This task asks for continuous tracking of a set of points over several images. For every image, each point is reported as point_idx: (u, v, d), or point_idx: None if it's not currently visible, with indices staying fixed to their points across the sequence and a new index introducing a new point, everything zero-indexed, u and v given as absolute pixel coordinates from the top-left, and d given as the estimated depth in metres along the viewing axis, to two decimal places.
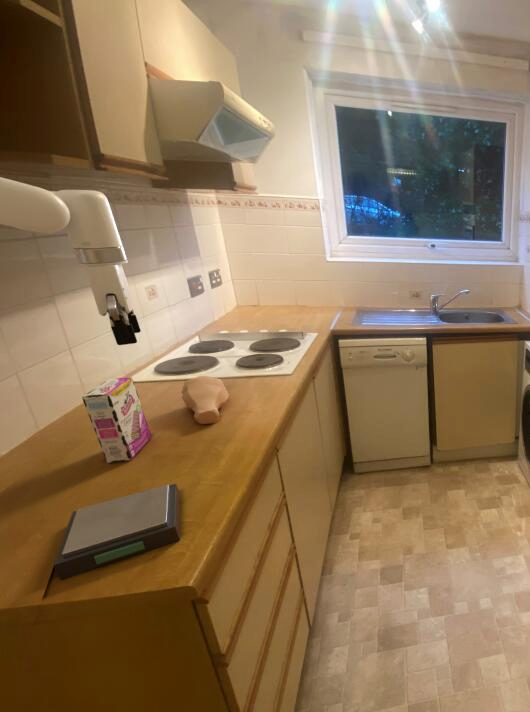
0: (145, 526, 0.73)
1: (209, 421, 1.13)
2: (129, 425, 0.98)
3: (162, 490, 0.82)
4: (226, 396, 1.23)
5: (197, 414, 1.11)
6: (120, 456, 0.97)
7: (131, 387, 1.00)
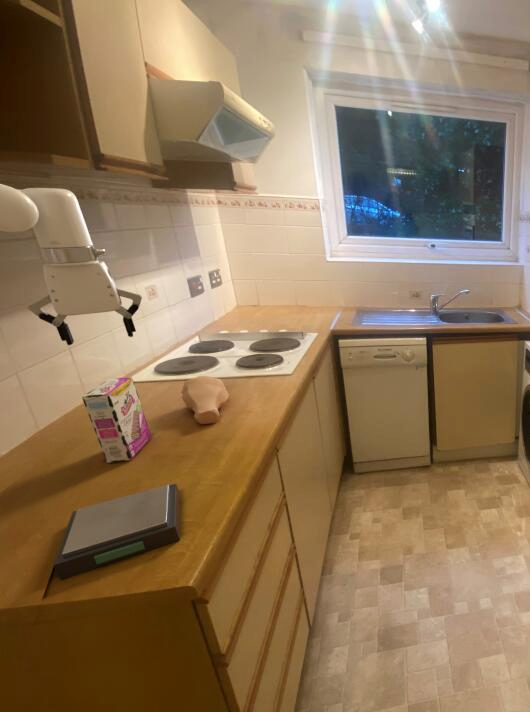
0: (145, 526, 0.73)
1: (209, 421, 1.13)
2: (129, 425, 0.98)
3: (162, 490, 0.82)
4: (226, 396, 1.23)
5: (197, 414, 1.11)
6: (120, 456, 0.97)
7: (131, 387, 1.00)
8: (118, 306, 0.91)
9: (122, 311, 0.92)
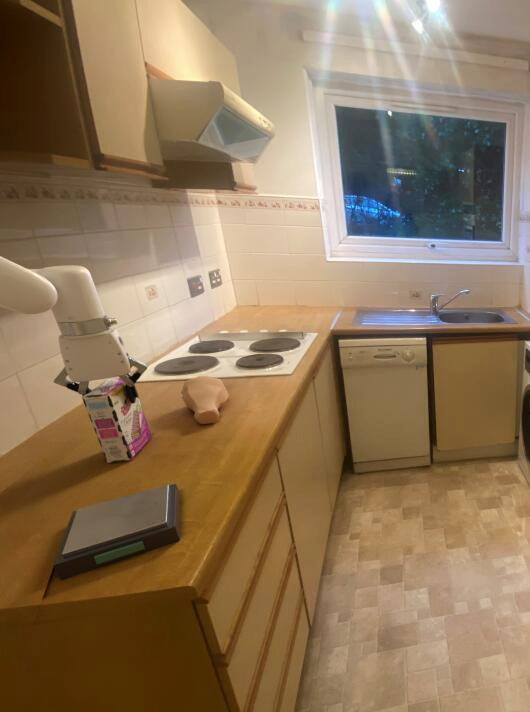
0: (145, 526, 0.73)
1: (209, 421, 1.13)
2: (129, 425, 0.98)
3: (162, 490, 0.82)
4: (226, 397, 1.23)
5: (197, 414, 1.11)
6: (120, 456, 0.97)
7: None
8: (128, 371, 0.95)
9: (126, 379, 0.96)
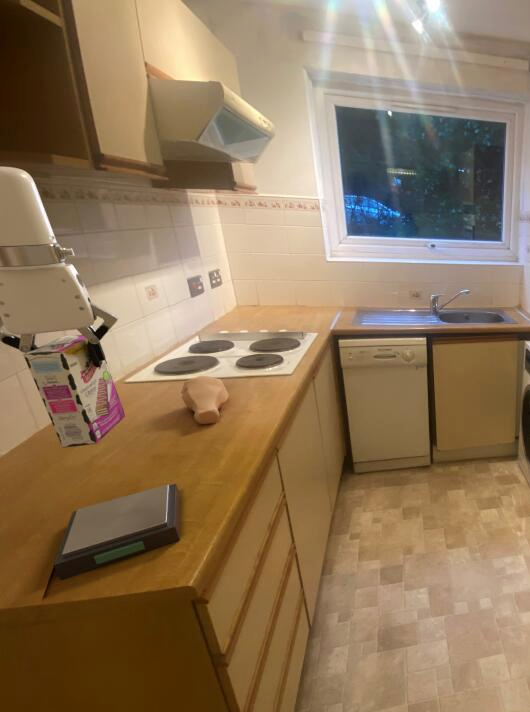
0: (145, 526, 0.73)
1: (209, 421, 1.13)
2: (93, 397, 0.73)
3: (162, 490, 0.82)
4: (226, 397, 1.23)
5: (197, 414, 1.11)
6: (80, 438, 0.71)
7: None
8: (90, 322, 0.70)
9: (88, 334, 0.71)
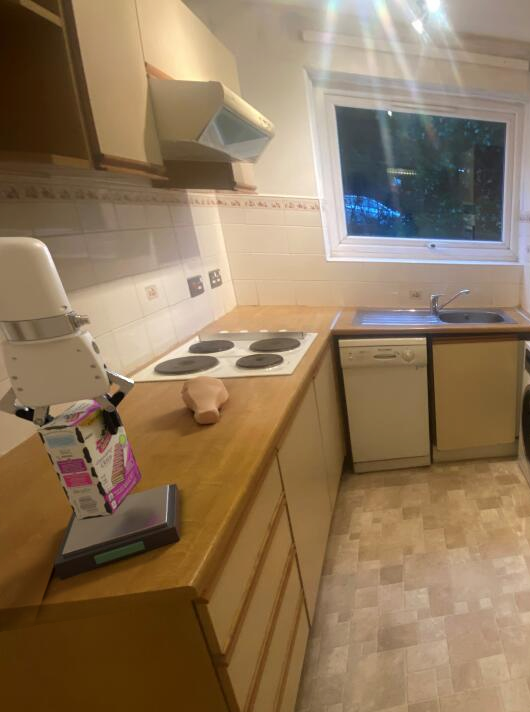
0: (145, 526, 0.73)
1: (209, 421, 1.13)
2: (108, 466, 0.69)
3: (162, 490, 0.82)
4: (226, 397, 1.23)
5: (197, 414, 1.11)
6: (95, 510, 0.68)
7: None
8: (106, 390, 0.67)
9: (104, 402, 0.68)
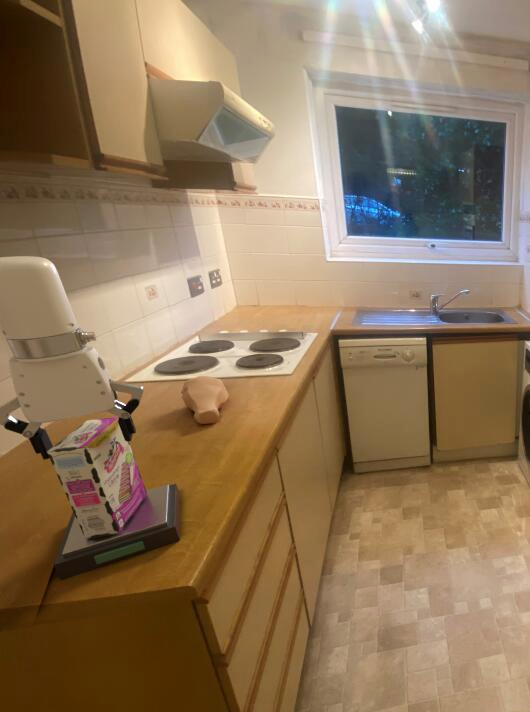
0: (145, 526, 0.73)
1: (209, 421, 1.13)
2: (116, 485, 0.71)
3: (162, 490, 0.82)
4: (226, 397, 1.23)
5: (197, 414, 1.11)
6: (103, 529, 0.70)
7: (119, 431, 0.73)
8: (111, 405, 0.68)
9: (117, 410, 0.69)
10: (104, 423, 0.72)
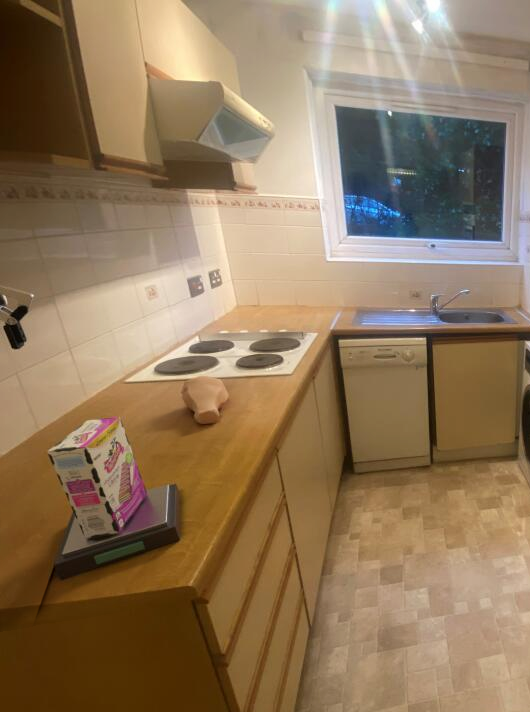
0: (145, 526, 0.73)
1: (209, 421, 1.13)
2: (116, 485, 0.71)
3: (162, 490, 0.82)
4: (226, 397, 1.23)
5: (197, 414, 1.11)
6: (103, 529, 0.70)
7: (119, 431, 0.73)
8: None
9: (1, 315, 0.68)
10: (104, 423, 0.72)
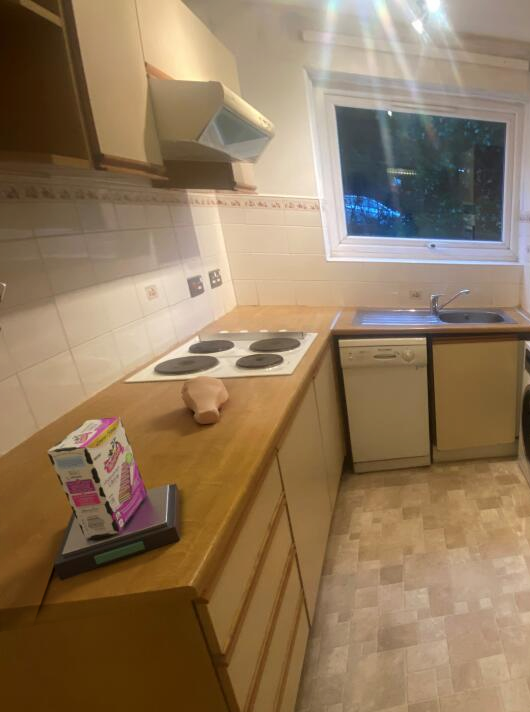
0: (145, 526, 0.73)
1: (209, 421, 1.13)
2: (116, 485, 0.71)
3: (162, 490, 0.82)
4: (226, 397, 1.23)
5: (197, 414, 1.11)
6: (103, 529, 0.70)
7: (119, 431, 0.74)
8: None
9: None
10: (104, 423, 0.72)
